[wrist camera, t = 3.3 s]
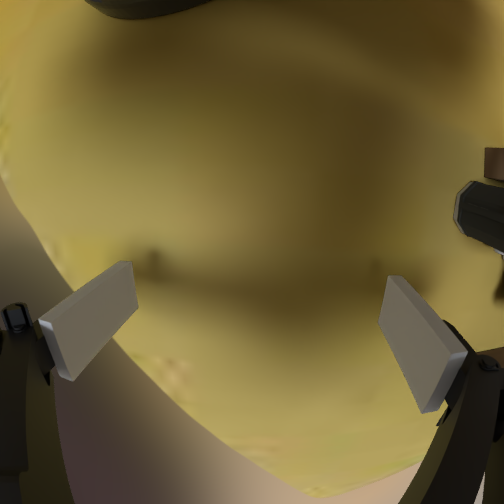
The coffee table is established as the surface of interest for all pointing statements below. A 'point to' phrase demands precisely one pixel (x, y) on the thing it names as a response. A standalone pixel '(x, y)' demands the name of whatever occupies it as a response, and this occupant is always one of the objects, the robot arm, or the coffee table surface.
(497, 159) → the rail
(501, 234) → the camera
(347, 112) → the coffee table surface
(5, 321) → the robot arm
